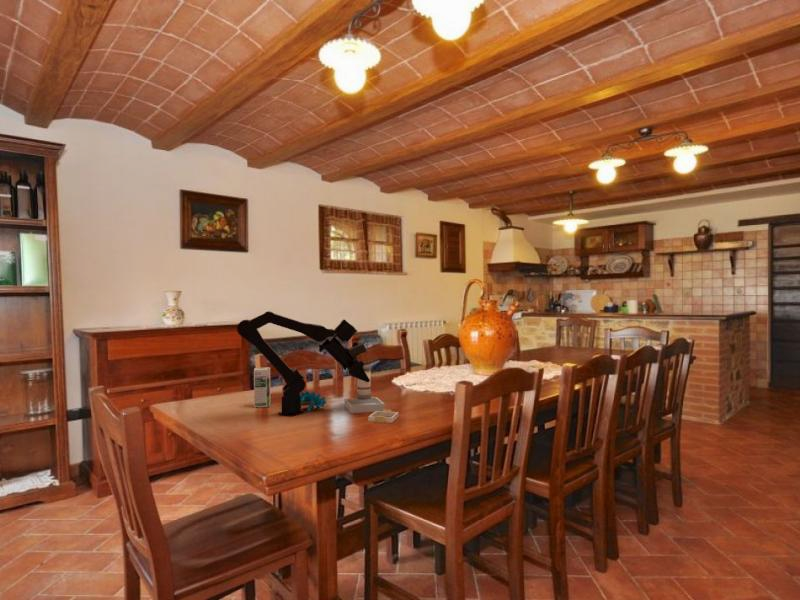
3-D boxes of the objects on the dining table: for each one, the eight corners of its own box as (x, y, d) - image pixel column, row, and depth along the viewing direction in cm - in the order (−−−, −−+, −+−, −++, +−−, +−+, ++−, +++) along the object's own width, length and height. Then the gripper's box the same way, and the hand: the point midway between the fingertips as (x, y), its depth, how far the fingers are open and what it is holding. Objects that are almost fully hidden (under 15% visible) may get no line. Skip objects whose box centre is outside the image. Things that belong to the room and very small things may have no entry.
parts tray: (350, 413, 166) (350, 406, 166) (344, 405, 178) (344, 399, 178) (384, 410, 170) (384, 403, 170) (376, 403, 182) (376, 397, 182)
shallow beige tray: (367, 421, 154) (367, 415, 154) (376, 414, 164) (376, 409, 164) (391, 423, 152) (391, 417, 152) (399, 416, 162) (398, 410, 162)
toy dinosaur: (331, 403, 174) (318, 388, 168) (326, 417, 170) (313, 402, 164) (306, 405, 178) (293, 390, 172) (301, 419, 174) (287, 404, 168)
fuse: (370, 399, 171) (370, 366, 171) (356, 399, 171) (356, 366, 171) (371, 396, 177) (371, 364, 177) (357, 396, 177) (357, 364, 177)
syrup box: (253, 408, 175) (253, 369, 175) (255, 404, 181) (255, 367, 181) (269, 407, 176) (269, 368, 176) (270, 403, 182) (270, 366, 182)
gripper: (358, 337, 164) (388, 367, 167) (348, 333, 182) (376, 361, 185) (336, 360, 162) (367, 391, 165) (328, 354, 180) (356, 382, 183)
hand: (367, 380), depth 174 cm, fingers closed on fuse, 5 cm apart
